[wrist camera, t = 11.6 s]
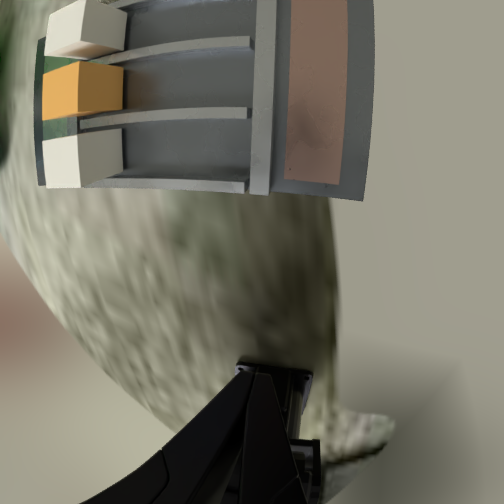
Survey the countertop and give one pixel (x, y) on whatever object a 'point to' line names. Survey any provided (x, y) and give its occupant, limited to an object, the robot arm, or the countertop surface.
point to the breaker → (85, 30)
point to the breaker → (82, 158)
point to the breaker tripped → (81, 90)
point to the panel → (235, 97)
